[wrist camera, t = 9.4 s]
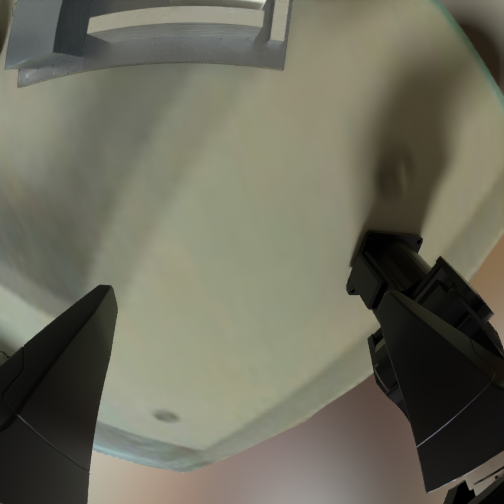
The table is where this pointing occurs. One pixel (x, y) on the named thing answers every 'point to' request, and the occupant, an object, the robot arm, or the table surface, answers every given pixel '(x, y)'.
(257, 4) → the grey rectangular block
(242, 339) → the table surface
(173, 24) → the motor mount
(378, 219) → the table surface
